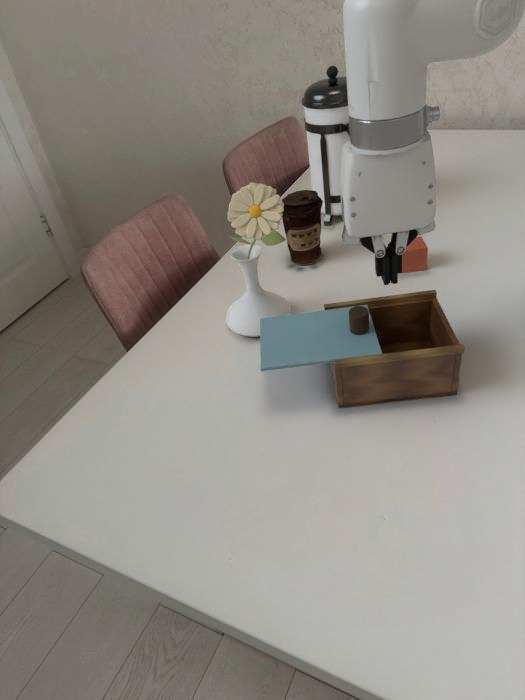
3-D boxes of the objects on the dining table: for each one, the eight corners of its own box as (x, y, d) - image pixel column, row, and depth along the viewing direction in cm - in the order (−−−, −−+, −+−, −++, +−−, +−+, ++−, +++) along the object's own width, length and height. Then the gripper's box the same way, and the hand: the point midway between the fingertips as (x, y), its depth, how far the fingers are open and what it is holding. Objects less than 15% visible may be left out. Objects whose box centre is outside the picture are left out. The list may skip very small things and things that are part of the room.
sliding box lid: (367, 307, 72) (366, 286, 70) (382, 356, 63) (382, 335, 61) (260, 321, 73) (256, 301, 71) (261, 371, 65) (256, 351, 62)
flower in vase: (217, 338, 85) (179, 199, 69) (243, 300, 93) (214, 167, 77) (288, 348, 80) (266, 200, 64) (309, 307, 88) (294, 166, 72)
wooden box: (431, 337, 77) (435, 289, 71) (458, 397, 67) (465, 347, 61) (327, 350, 78) (323, 304, 73) (338, 411, 68) (335, 363, 63)
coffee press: (293, 223, 114) (275, 78, 95) (327, 194, 123) (317, 57, 104) (362, 234, 105) (358, 77, 86) (394, 202, 114) (396, 54, 95)
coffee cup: (332, 264, 98) (327, 201, 90) (291, 273, 97) (282, 211, 89) (321, 244, 104) (315, 184, 96) (282, 252, 104) (274, 193, 96)
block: (420, 257, 95) (421, 236, 92) (426, 269, 91) (427, 247, 88) (396, 260, 95) (396, 239, 92) (401, 273, 92) (402, 251, 89)
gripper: (449, 104, 53) (440, 254, 65) (310, 130, 55) (326, 272, 66) (473, 125, 47) (458, 285, 59) (317, 153, 49) (333, 304, 61)
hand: (388, 278), depth 63 cm, fingers closed
